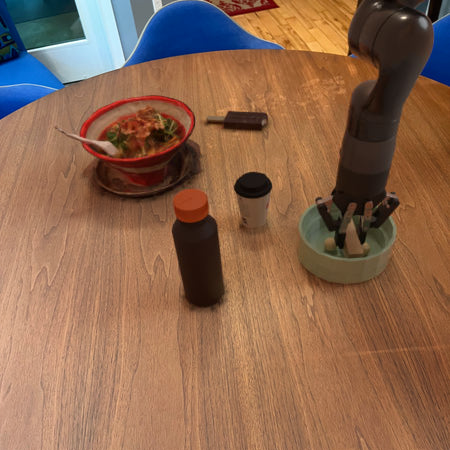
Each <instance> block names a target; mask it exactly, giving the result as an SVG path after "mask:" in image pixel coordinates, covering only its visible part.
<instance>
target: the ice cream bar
mask: <svg viewBox="0 0 450 450" xmlns="http://www.w3.org/2000/svg"><path fill="white" fill-rule="evenodd" d="M205 119H206V120H205V121H207V122H214V123H215V122H216V123H222V125H223V128H224V129H237V130H255V131H261V130H263V127H264V126H265V125H268V123H269V122H268V121H269V114H268V113H267V112H265V111H264V112H260V111H240V110H238V111H237V110H227V113H226V115H225V116H221V115H217V116H216V115H208V116H206V118H205Z"/></svg>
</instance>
